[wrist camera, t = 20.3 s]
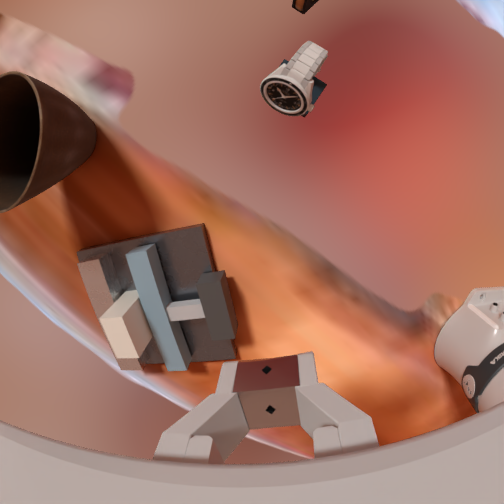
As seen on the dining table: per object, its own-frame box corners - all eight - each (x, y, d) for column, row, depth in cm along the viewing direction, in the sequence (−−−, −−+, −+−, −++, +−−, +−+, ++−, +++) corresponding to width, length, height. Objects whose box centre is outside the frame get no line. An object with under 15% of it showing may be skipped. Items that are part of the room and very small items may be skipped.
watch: (256, 106, 33) (248, 87, 23) (291, 56, 31) (296, 20, 21) (296, 131, 34) (305, 121, 24) (330, 79, 32) (352, 52, 21)
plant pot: (49, 90, 33) (-27, 81, 18) (129, 87, 33) (54, 62, 18) (38, 184, 38) (-37, 204, 23) (113, 195, 38) (36, 223, 23)
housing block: (146, 288, 40) (121, 316, 33) (159, 325, 42) (139, 358, 35) (125, 291, 41) (99, 318, 33) (139, 327, 43) (116, 358, 35)
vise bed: (203, 223, 38) (195, 232, 34) (236, 352, 44) (233, 371, 40) (81, 249, 41) (65, 258, 37) (124, 358, 47) (113, 374, 43)
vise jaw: (215, 232, 37) (210, 239, 34) (245, 353, 42) (243, 368, 39) (135, 247, 38) (123, 255, 35) (173, 358, 44) (167, 372, 40)
